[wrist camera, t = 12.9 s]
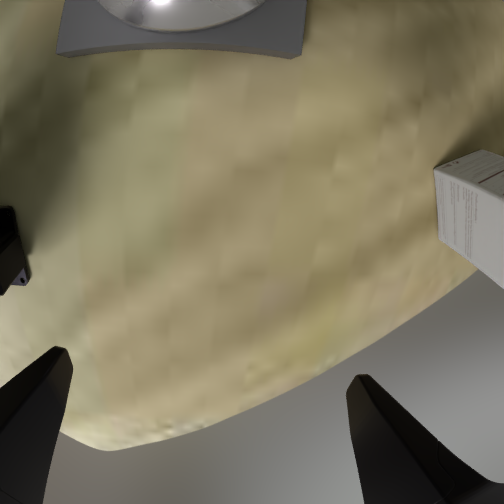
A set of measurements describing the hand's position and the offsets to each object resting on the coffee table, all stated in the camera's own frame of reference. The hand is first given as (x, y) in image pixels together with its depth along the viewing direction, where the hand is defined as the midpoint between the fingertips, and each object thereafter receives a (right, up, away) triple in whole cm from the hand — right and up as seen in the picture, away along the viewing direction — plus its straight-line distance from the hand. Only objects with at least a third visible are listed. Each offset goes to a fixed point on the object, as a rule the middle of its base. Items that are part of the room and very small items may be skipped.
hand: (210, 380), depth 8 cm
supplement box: (+21, +9, +15) cm, 27 cm away
